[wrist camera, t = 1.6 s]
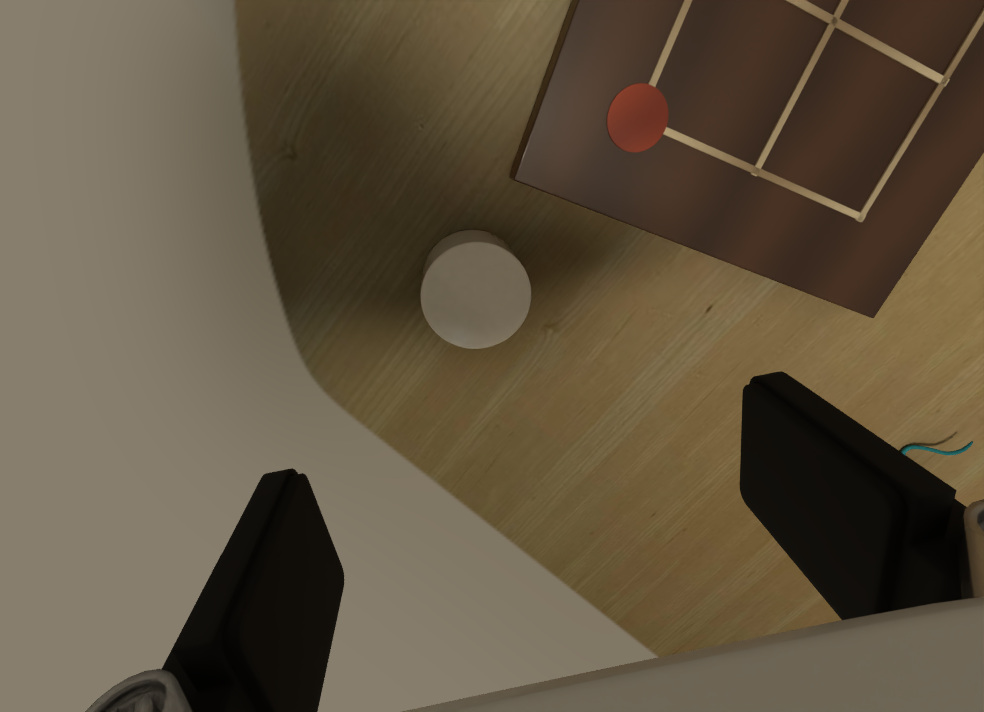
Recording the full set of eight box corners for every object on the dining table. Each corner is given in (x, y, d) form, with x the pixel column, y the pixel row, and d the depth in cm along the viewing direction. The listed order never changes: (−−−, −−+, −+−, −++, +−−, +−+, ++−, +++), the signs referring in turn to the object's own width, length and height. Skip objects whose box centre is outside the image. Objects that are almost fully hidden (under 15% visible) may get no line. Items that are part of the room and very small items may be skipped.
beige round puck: (409, 309, 25) (406, 331, 22) (439, 214, 24) (440, 225, 21) (500, 338, 26) (508, 361, 24) (535, 249, 25) (548, 263, 22)
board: (508, 177, 23) (513, 180, 22) (732, -449, 16) (762, -507, 15) (852, 309, 28) (875, 319, 26) (1139, -137, 21) (1193, -157, 19)
